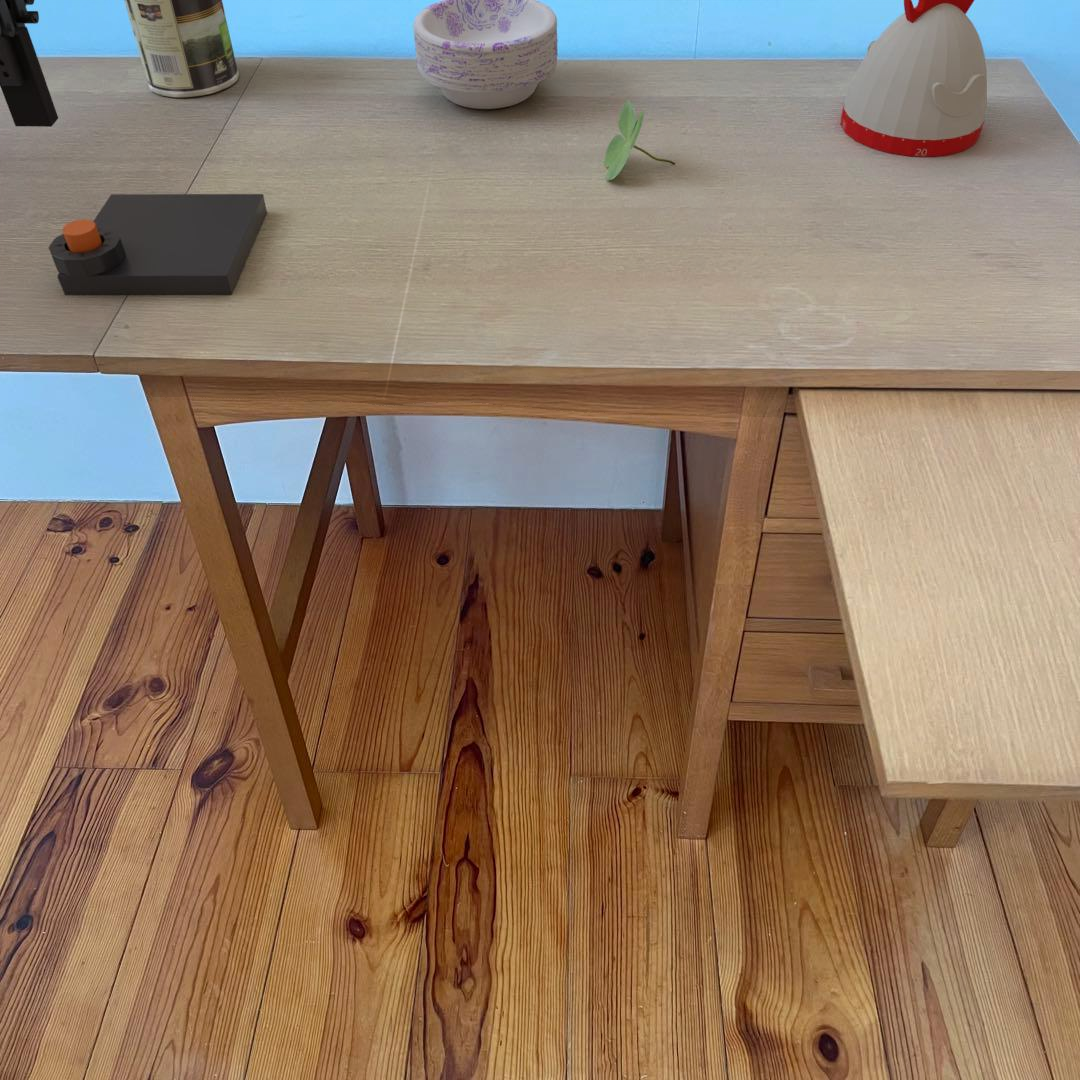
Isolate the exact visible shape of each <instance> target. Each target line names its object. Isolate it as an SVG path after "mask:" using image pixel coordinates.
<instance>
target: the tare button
mask: <svg viewBox="0 0 1080 1080" xmlns="http://www.w3.org/2000/svg"><path fill="white" fill-rule="evenodd" d="M93 221H94V220H91V219H87V218H86V219H82V218H81V219H76V220H72V221H70V222H68V223H66V224H65V225H64V226H63V227H62V228H61V229H62V230H61V231H62V234H64V237H65V240H66V242H67V245H68V247H69V250H70V251H71V252H73V253H84V252H88V251H91V250H94V249H96V248H98V247H99V246H101V245H102V241H101V238H100V235H99V233H98V230H97V227H96V224H95V223H94V222H93Z"/></svg>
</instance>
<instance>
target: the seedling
mask: <svg viewBox="0 0 1080 1080" xmlns="http://www.w3.org/2000/svg"><path fill="white" fill-rule="evenodd" d="M644 115H645V110H644V109H641V111H639V114H638V117H636V113H635V108H634V103H633V101H626V102H625V103H624V104H623V106H622V108H621V110H620V113H619V115H618V129H619V132H620V134H616V135H615V136H614V137H612V139H611V141H610V142H609V143H608V146H607V148H606V151H605V155H604V160H603V163H604V167H605V168H607V170H606V172H605V175H604V176H605V178H606V181H611V180H614V179H615V178H616V177H617V176H618V175H619V174H620V172H621V171H622V169H624V167H625V165H626V163H627V160H628V158H629V157H630V153H631V150H632V149H633V148H634V149H636V150H638V151H640V152H642V153H643V154H645V155H647V156H648V157H650V158H651V159H653V160H655V161H658V162H665V163H670V164H671V165H673V166H675V165H676V162H675V161H672V160H670V159H666V158H665V159H664V158H658V157H656V156H654V155H652V154H651V153H649V152H648V151H647V150H645V149H643V148H641V147H639V146H637V145H635V144H636V141H637V139H638V136H639V134H640V131H641V128H642V125H643V121H644V117H645V116H644Z"/></svg>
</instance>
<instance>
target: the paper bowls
mask: <svg viewBox="0 0 1080 1080" xmlns="http://www.w3.org/2000/svg"><path fill="white" fill-rule="evenodd" d="M412 28H413V39H414V50H415V55H416V64H417V65H416V67H417V71H418V74H419V75H420V77H421V78H422V79H423V80H424V81H425V82H426V83H428V84H431V85H433V86H435V87H438V88H439V90H440V92H441V94H442V95H443V96H444V97H445V98H446V99H447V101H450V102H451V103H453V104H455V105H457V106H460V107H464V108H469V109H474V110H475V109H476V110H497V109H503V108H508V107H511V106H514V105H517V104H519V103H522V102H523V101H526V100H528V98H530V97H531V96H532V95H533V93H534V92H535V91H536V89H537V86H538V85H539V83H540V82H541V81H543V80H544V79H546V78H549V76H551V74H552V73H553V72H554V71H555V70H556V68H557V65H558V55H559V54H558V42H559V40H558V19H557V16H556V14H555V12H554V10H552V8H551V7H549V6H548V5H546V4H545V3H543V2H541V1H538V0H439V1H437V2H434V3H432V4H430V5H427V6H426V7H425V8H423V9H421V10H420V12H419V13H418V14H416V16H415V18H414V21H413V25H412Z"/></svg>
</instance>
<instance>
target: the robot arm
mask: <svg viewBox="0 0 1080 1080" xmlns="http://www.w3.org/2000/svg"><path fill="white" fill-rule="evenodd" d="M34 4H35V0H0V89H1V92H2V94H3V97H4V100H5V103H6V105H7V108H8V110H9V113H10V115H11V118H12V121H13V123H14V126H15V127H39V128H40V127H46V128H47V127H51V128H52V127H53V125H55V123H56V122H57V121H58V119H59V116H58V113H57V110H56V107H55V104H54V101H53V98H52V96H51V92H50V90H49V87H48V84H47V81H46V78H45V75H44V73H43V68H42V67H41V64H40V61H39V58H38V55H37V52H36V48H35V46H34V44H33V40H32V37H31V36H30V31H29V29H28V27H27V26H26V24H29V25H30V24H34V25H35V24H37V25H38V23H39V22H40V15H39V11H38V10H28V9H27V6H33V5H34Z"/></svg>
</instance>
